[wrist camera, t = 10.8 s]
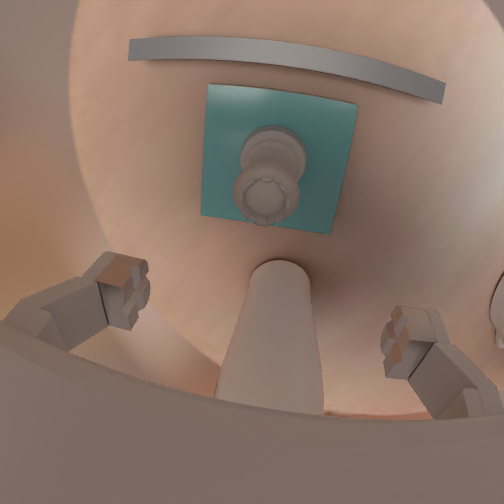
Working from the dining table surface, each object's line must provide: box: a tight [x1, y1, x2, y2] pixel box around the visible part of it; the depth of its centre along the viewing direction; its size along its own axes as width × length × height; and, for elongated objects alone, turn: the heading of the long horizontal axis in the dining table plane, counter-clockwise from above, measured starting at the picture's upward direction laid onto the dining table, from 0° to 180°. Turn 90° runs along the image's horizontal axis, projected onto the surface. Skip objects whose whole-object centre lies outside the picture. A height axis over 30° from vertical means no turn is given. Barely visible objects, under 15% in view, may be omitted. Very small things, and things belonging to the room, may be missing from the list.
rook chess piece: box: [232, 125, 307, 226], centre depth 18 cm, size 4×4×8 cm
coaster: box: [201, 83, 358, 235], centre depth 22 cm, size 10×10×1 cm
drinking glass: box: [213, 260, 324, 416], centre depth 22 cm, size 7×7×15 cm
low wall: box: [128, 36, 446, 105], centre depth 17 cm, size 20×2×3 cm, turn 84°
